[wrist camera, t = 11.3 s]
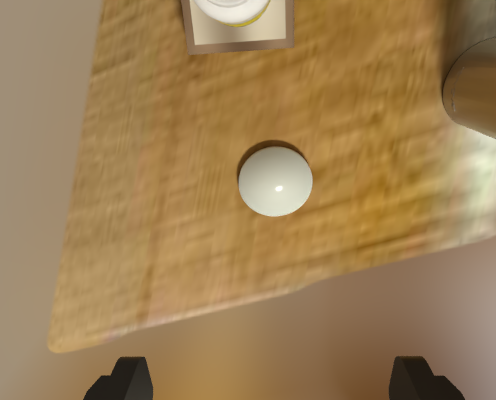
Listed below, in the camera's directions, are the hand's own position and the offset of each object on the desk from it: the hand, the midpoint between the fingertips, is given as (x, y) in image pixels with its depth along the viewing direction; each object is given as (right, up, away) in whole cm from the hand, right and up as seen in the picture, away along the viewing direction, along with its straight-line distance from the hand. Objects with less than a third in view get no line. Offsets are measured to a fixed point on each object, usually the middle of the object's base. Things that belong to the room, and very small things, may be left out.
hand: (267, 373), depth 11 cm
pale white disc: (+3, +8, +30) cm, 31 cm away
